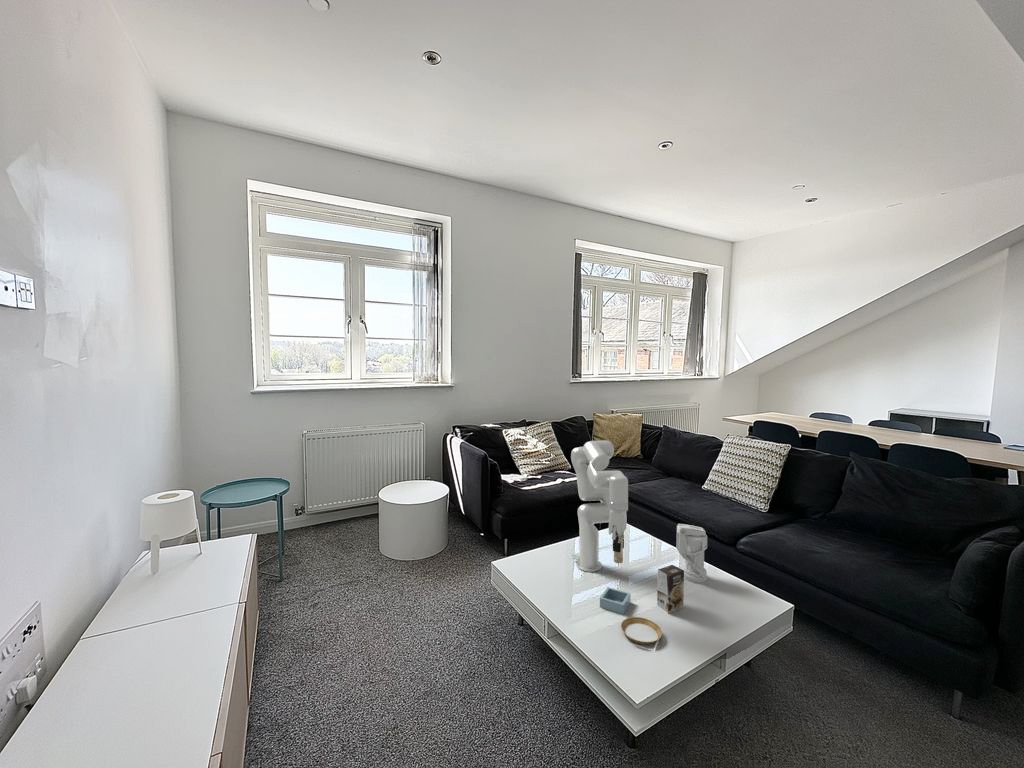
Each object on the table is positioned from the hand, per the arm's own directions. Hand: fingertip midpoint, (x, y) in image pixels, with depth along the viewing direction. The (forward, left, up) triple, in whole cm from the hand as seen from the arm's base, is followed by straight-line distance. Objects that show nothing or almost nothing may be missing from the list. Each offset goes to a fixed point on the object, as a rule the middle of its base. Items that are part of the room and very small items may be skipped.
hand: (618, 549), depth 171 cm
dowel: (0, 0, -5) cm, 5 cm away
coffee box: (+18, +13, -26) cm, 34 cm away
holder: (-2, +2, -26) cm, 26 cm away
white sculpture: (+22, +43, -26) cm, 55 cm away
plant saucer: (+12, -11, -26) cm, 31 cm away
